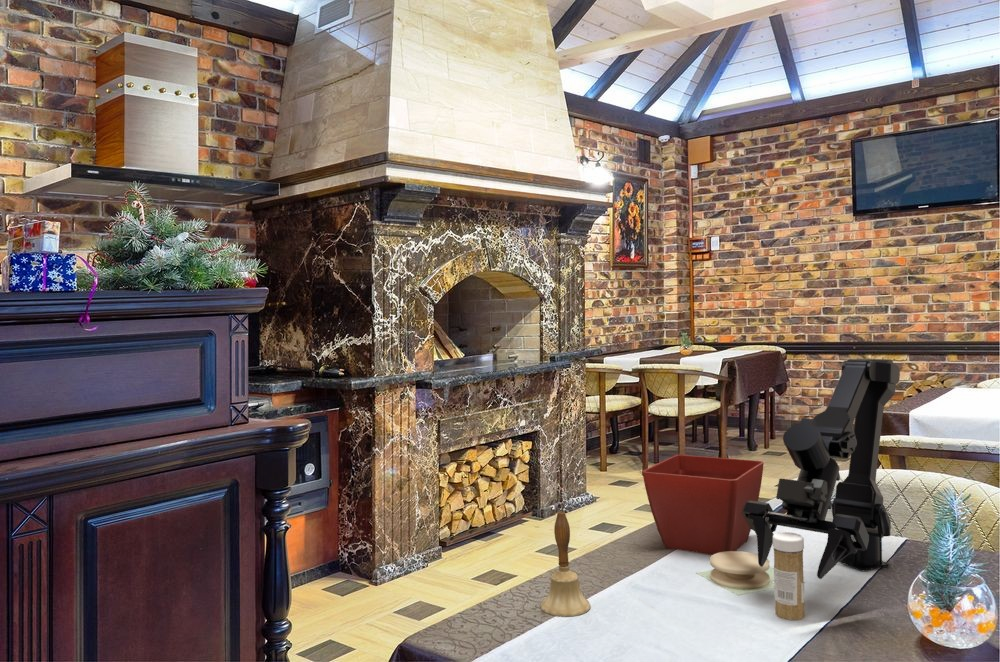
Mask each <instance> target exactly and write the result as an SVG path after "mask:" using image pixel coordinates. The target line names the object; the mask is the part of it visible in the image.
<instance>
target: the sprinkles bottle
mask: <svg viewBox="0 0 1000 662" xmlns="http://www.w3.org/2000/svg"><path fill="white" fill-rule="evenodd" d="M773 534H774V535H773V544H772V547H773V554H774V555H773V561H774V563H773V568H774V582H773V583H774V603H775V606H774V608H775V611H774V612H775V615H776V617H778V618H779V619H780V618H781V619H782V620H786V621H802V620H803V619H805V617H806V616H805V583H804V582H805V581H804V577H805V576H804V553H803V552H804V549H805V539H804V537H803V536H802V535H801V534H798V533H796V532H789V531H788V532H786V531H785V532H777V533H773Z"/></svg>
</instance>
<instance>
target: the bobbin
mask: <svg viewBox="0 0 1000 662" xmlns="http://www.w3.org/2000/svg"><path fill="white" fill-rule="evenodd" d="M709 561H710V562H709V564H710V566H711V567H712V568H713V569H710V570H711V572H710V578H711V580H712V581H713V582H714V583H713V582H712V581H711V582H712V583H713V584H715V583H716V585H717V584H718V585H717V586H719V585H721V586H724V587H727V588H733V589H744V590H749V589H759V588H763V587H765V586H767V585H768V584H769V583H770V576H769V574H768V573H766V572H765V571H767V570H768V569H769V567H771V565H770V564H771V563H770V560H769V558H767V560H766V562H765V564H764V565H763V567H761V566H760V565H759V563H758V553H754V552H748V551H740V550H738V551H737V550H736V551H726V552H720V553H716V554H714V555H711V556H710V558H709ZM721 586H720V587H721Z"/></svg>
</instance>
